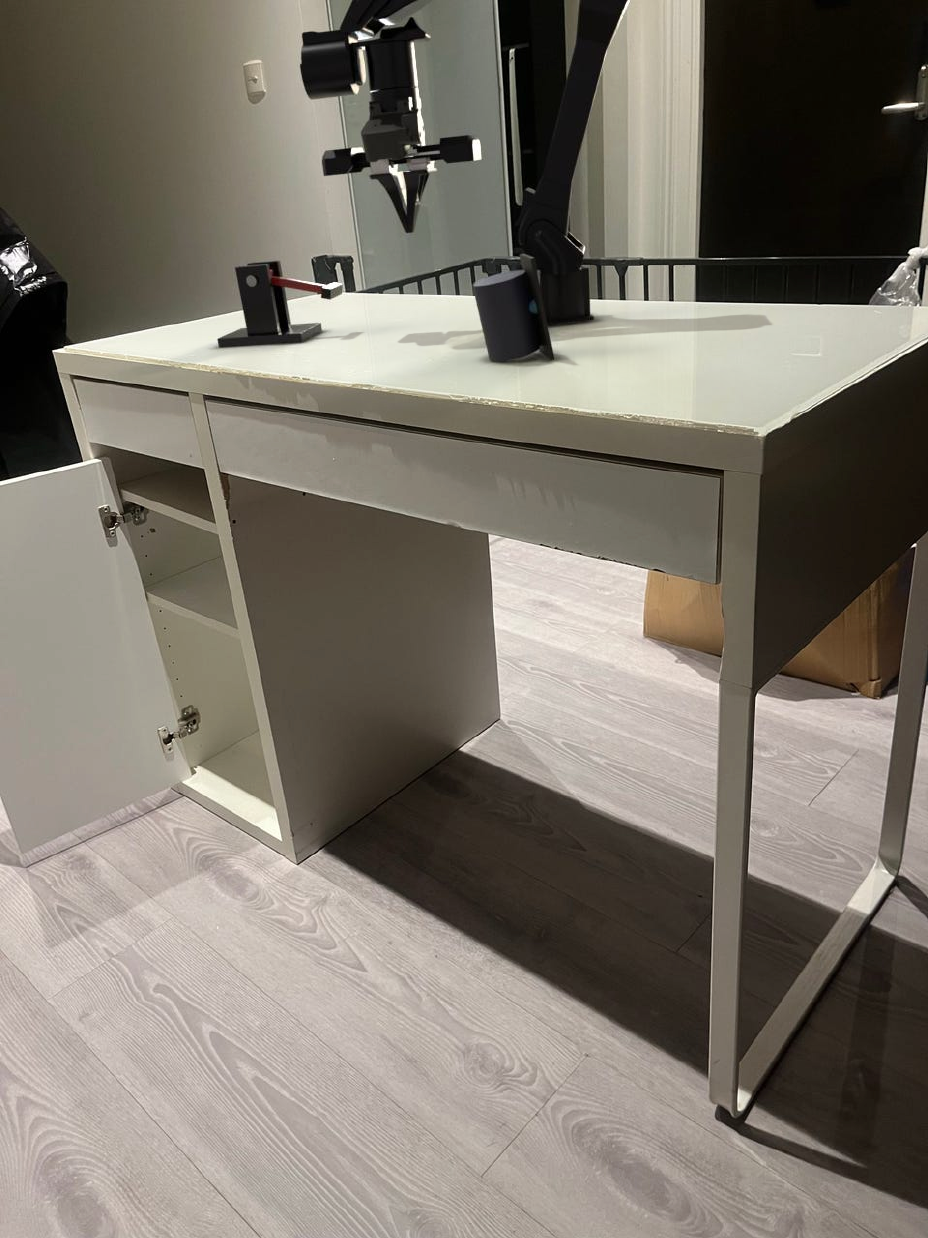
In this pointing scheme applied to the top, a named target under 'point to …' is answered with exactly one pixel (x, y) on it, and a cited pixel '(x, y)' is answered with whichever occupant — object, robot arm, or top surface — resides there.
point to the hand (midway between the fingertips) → (409, 232)
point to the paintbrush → (309, 286)
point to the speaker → (513, 313)
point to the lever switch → (265, 310)
